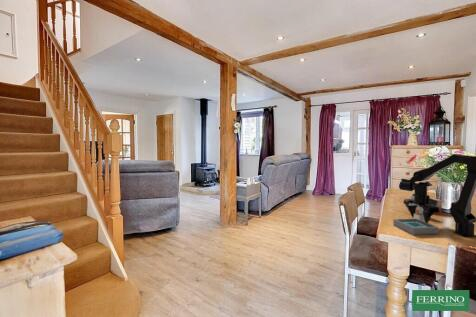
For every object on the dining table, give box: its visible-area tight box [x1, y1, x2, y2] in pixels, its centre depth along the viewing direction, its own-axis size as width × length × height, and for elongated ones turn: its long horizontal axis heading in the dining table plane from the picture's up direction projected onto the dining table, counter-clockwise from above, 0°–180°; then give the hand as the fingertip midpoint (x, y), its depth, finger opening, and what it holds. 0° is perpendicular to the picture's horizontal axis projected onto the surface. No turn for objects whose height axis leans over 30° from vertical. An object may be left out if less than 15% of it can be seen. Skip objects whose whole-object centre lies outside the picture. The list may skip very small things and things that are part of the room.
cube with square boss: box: [413, 213, 425, 222], centre depth 135 cm, size 4×4×6 cm
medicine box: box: [433, 198, 443, 215], centre depth 158 cm, size 15×8×8 cm, turn 58°
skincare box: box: [410, 194, 424, 214], centre depth 149 cm, size 6×4×12 cm
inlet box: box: [393, 218, 439, 236], centre depth 125 cm, size 14×13×4 cm
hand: (419, 220), depth 135 cm, fingers open, 9 cm apart
